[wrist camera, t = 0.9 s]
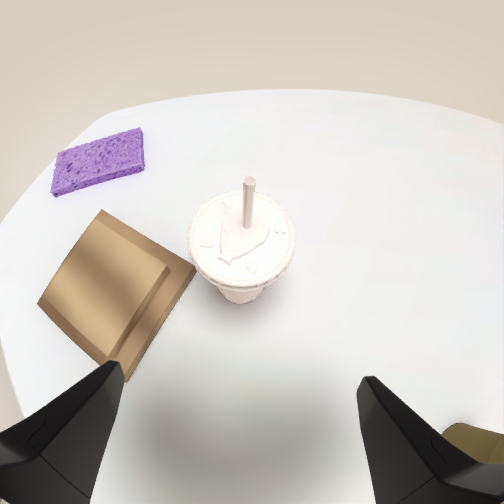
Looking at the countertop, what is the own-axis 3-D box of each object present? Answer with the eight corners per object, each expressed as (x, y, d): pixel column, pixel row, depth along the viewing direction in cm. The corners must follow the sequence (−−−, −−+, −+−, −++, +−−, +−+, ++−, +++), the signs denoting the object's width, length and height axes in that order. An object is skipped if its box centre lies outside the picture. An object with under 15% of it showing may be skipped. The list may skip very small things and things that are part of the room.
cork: (422, 460, 18) (496, 480, 8) (454, 413, 20) (531, 413, 10) (447, 479, 17) (514, 497, 7) (476, 436, 19) (545, 439, 9)
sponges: (63, 160, 31) (57, 152, 30) (145, 135, 33) (141, 124, 31) (55, 200, 29) (49, 192, 27) (145, 173, 30) (141, 163, 29)
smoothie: (288, 271, 26) (333, 172, 13) (254, 332, 24) (275, 284, 11) (227, 239, 27) (221, 124, 14) (190, 296, 25) (143, 212, 12)
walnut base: (127, 381, 21) (113, 382, 18) (44, 307, 23) (28, 299, 20) (196, 271, 26) (191, 258, 23) (106, 216, 27) (96, 201, 25)
